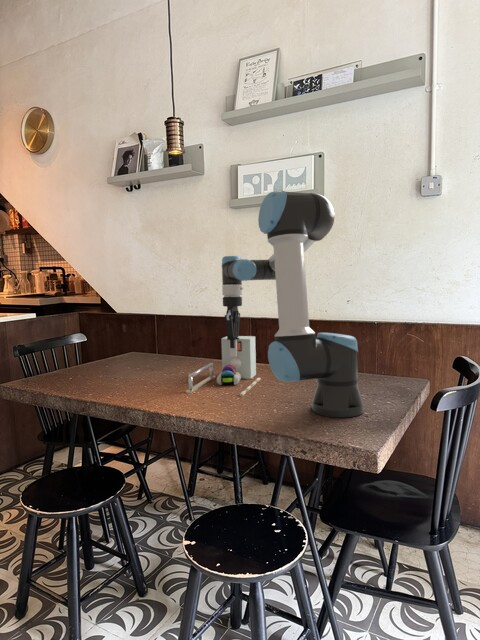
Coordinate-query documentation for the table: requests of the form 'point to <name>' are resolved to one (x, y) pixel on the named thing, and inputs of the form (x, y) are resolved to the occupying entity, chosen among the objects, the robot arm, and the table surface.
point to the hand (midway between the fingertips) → (233, 356)
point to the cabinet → (241, 356)
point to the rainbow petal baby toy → (228, 375)
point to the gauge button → (239, 345)
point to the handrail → (193, 388)
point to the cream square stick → (250, 387)
